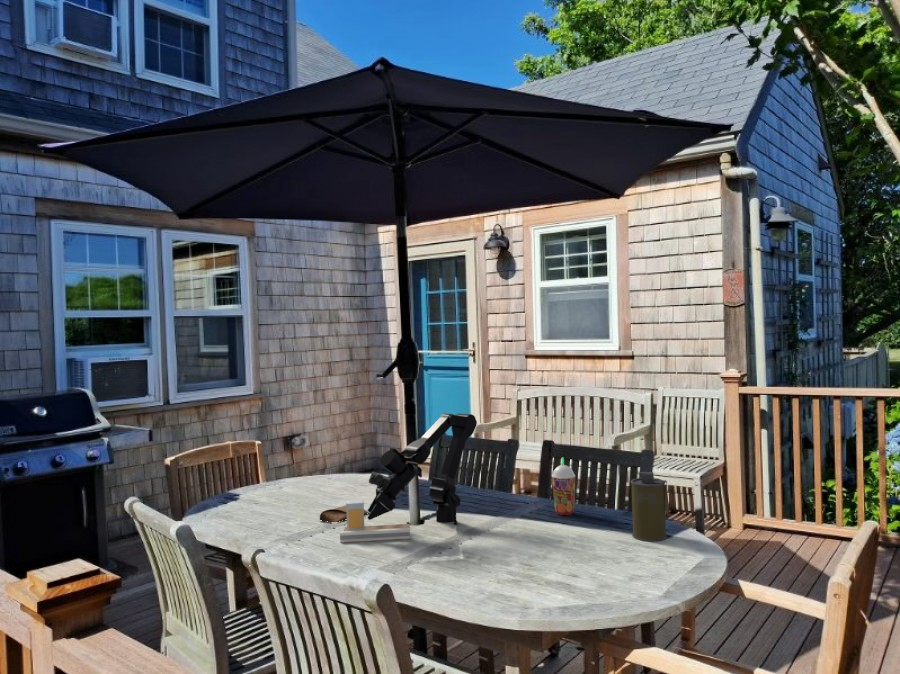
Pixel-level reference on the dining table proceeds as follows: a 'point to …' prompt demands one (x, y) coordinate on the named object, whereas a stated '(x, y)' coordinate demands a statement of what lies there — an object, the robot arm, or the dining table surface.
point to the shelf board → (382, 528)
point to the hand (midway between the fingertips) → (368, 515)
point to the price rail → (375, 535)
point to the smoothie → (563, 489)
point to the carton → (355, 515)
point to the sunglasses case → (335, 514)
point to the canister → (649, 507)
